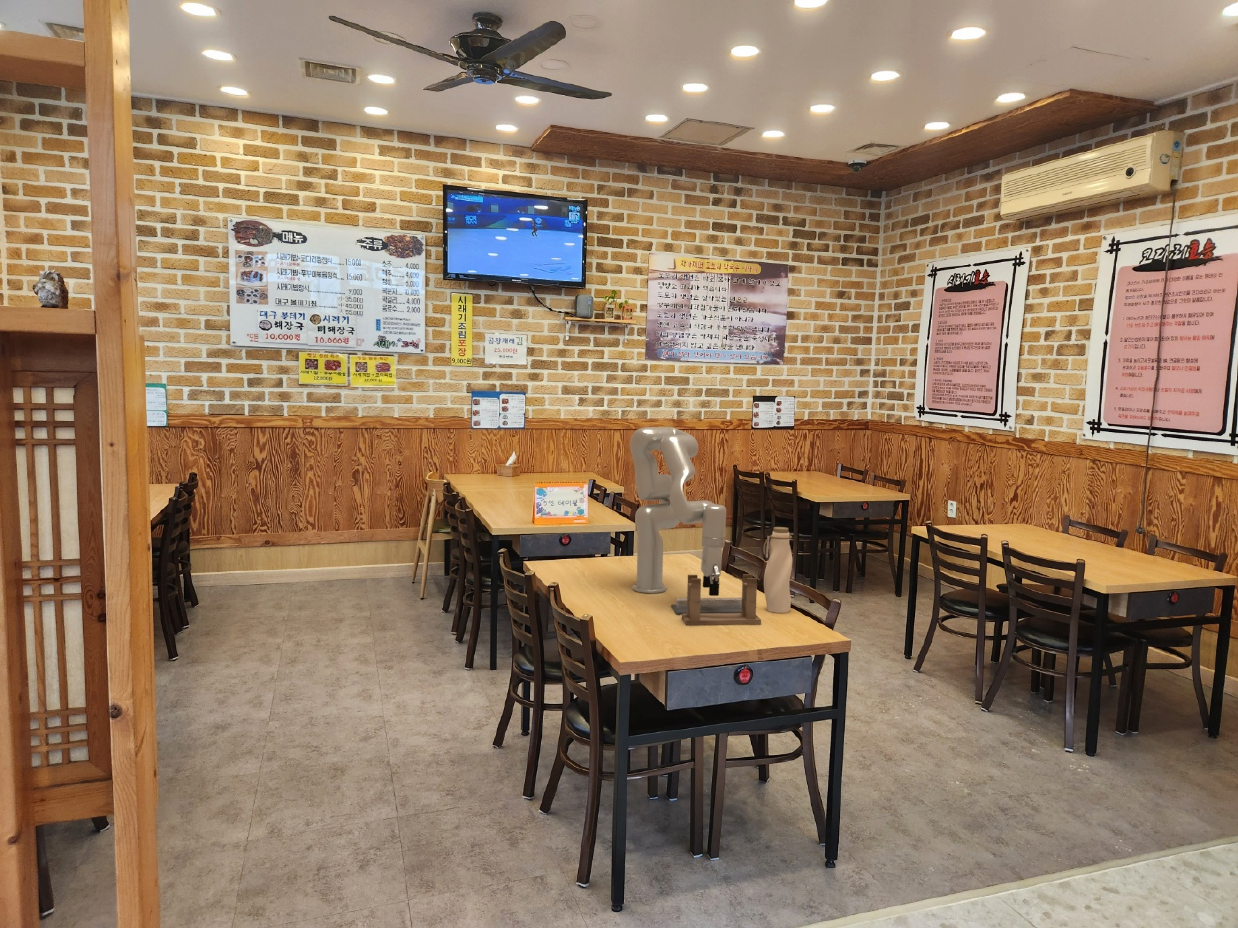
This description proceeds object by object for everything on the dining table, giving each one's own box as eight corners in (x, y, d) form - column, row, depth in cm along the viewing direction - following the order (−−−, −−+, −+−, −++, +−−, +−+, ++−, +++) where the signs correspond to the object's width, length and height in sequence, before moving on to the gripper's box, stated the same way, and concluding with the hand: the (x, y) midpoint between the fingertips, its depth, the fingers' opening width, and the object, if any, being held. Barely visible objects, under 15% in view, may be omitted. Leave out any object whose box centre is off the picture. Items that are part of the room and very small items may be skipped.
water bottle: (768, 614, 262) (771, 531, 259) (756, 607, 270) (759, 526, 268) (796, 612, 264) (799, 530, 262) (784, 605, 273) (786, 525, 270)
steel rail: (675, 606, 266) (675, 598, 266) (745, 606, 269) (745, 597, 269) (677, 609, 263) (677, 600, 263) (747, 608, 266) (748, 599, 266)
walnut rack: (681, 618, 256) (682, 574, 254) (754, 617, 258) (755, 573, 257) (686, 625, 248) (687, 579, 247) (760, 624, 250) (762, 579, 249)
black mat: (671, 606, 270) (671, 604, 269) (745, 605, 272) (745, 603, 272) (676, 614, 260) (676, 612, 260) (753, 613, 262) (753, 611, 262)
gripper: (696, 535, 272) (694, 584, 274) (707, 547, 255) (705, 598, 257) (718, 536, 273) (715, 584, 275) (730, 547, 256) (727, 598, 258)
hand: (710, 591), depth 266 cm, fingers open, 9 cm apart
